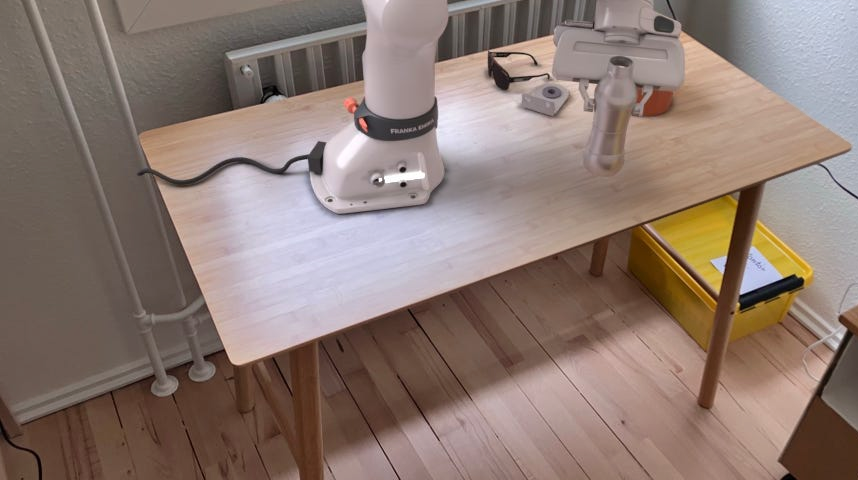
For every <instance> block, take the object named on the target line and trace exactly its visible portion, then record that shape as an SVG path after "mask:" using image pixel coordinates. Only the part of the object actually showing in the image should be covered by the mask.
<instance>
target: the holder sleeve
mask: <svg viewBox="0 0 858 480" xmlns="http://www.w3.org/2000/svg"><path fill="white" fill-rule="evenodd" d="M637 92H638V97H637V101H636V103H640V102H641V101H642V99H643V98H644V96H643V95H641V94H642V89H640V88H637ZM674 93H675V92H670V91H660V90H653V92H652V94H651V96H650V97H649V99H648V100H647V101H646V103H645V104H644V107H643V115H642V117H643V116H645V117H651V116H658V115H661V114H664V113H665V112H667V111H668V110H669V109H670V107H671V106H672V105H671V104H672V102H673V97H674ZM632 112H633V111H632Z"/></svg>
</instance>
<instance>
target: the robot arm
mask: <svg viewBox="0 0 858 480" xmlns="http://www.w3.org/2000/svg"><path fill="white" fill-rule="evenodd" d="M360 1H361V3H362V7H363V10H364V14H365V20H366V39H365V49H364V50H363V52H362V56H361V61H362V62H361V63H362V72H363V74H362V76H363V77H362V78H363V87H364V88H363V89H364V91H363V92H364V96H363V98H362V101H361V102H360V104H359V103H358V101H357V99H356V98H354V97H347V98H346V99H345V101H344V102H343V105H344V108H346V110H347V113H349V114H352V115H353V120H352V121H351V122H350V123H348V124H347V125H346V126H345V127H343V128H342V129H341V130H340V131H338V132H337V133H336V134H335V135H333V136H332V137H330V138H329V139H328V140H327V142H326V141H321V140H317V142H316V144H315V145H314V147H313V148H312V149H311V151H310V152H309V153H307V154H301V155H297V156H294V157H292V158H290V159H288V160H287V161H286V163H285V164H284V165H283V166H282V167H280V168H271V167H268V166H266V165H264V164H262V163H260V162H258V161H256V160H255V159H252V158H249V157H244V156H238V157H237V156H236V157H230V158H227V159H224V160H222V161H220V162H218V163H216V164H214V165H213V166H212V167H210V168H209V169H207V170H206V171H204V172H202V173H201V174H198V175H197V176H195V177H192V178H188V179H175V178H172V177H169V176H167V175H165V174H163V173H161V172H159V171H158V170H156V169H154V168H149V167H147V168H143V169H140V170H139V171H138V172H137V173H136V176H138V177H140V176H143V175H145V174H151V175H154V176H155V177H157V178H159V179H161V180H163V181H165V182H166V183H167V182H168V183H170V184H173V185H177V186H183V185H184V186H185V185H191V184H194V183H197V182H199V181H202V180H203V179H206V178H207V177H209V176H210V175H211V174H213V173H214V172H216V171H217V170H219V169H220V168H222V167H224V166H226V165H229V164H232V163H247V164H249V165H253V166H255V167H256V168H258V169H260V170H262V171H264V172H267V173H270V174H276V175H277V174H283V173H285V172H286V171H287V170H288V169H289V168H290V167H291V165H293V164H294V163H296V162H299V161H303V160H305V161H306V160H307V164H308V172H309V176H310V177H309V179H310V185H311V188H312V191H313V192H314V195H315V196H316V199H318V201H319V202H320V203H321V204H322V206H323V207H325V208H326V209H327V210H329V211H331V212H333V213H334V214H338V215H339V214H340V215H341V214H351V213H359V212H368V211H376V210H385V209H394V208H395V209H396V208H403V207H411V206H421V205H425V204H426V203H427V202H428V201H429V199H430V197H431V194H432V192H433V191H434V190H435V188H437V187H438V186H439V185H440V184H441V183H442V181H443V180H444V177H445V166H444V163H443V160H442V157H441V153H440V149H439V145H438V144H439V143H438V137H437V128H438V125H439V124H438V121H439V105H438V98H437V96H436V55H437V49H438V44H439V39H440V37H441V36H442V35H443V34H444V32H445V30H446V28H447V26H448V22H449V16H450V15H449V14H450V12H449V11H450V10H449V4H448V0H360ZM595 3H596V4H595V11H594V20H593V21H585V20H583V21H581V20H580V21H579V20H573V19H565V20H564V21H563V22H562V21H561V22H560V23H558V24H557V25H556V26H555V28H554V30H553V38H552V42H553V44H554V46H555V52H554V57H553V62H552V66H551V67H552V68H551V75H552V77H553V78H554V80H556V81H560V82H572V83H578V91H579V94H580V95H581V98H582V100H583V108H582V109H583V110H582V111H583V112H587V113H594V98H590V96H589V93H588V89H589V84H590V85H591V84H592V85H597V84H598V83H599V81H600V80H601V79H602V78H603V77H604V76H606V75H607V67H608V63H609V59H610V58H611V57H613V56H625V57H628V58H630V59H632V60H633V62H634V66H633V75H632V76H631V78H632V80H633V81H634V83H635V85H636V87H637V88H640V89H642V94H641V95H643V96H644V98H643V99H642V101H641V102H640V103H635V106H634V109H633V112H632V114H631V117H637V118H642V117H643V116H642V115H643V107H644V104H645V103H646V101H647V100H648V99H649V97H650V96H651V94H652V92H653V90H660V91H670V92H674V93H675V92H677V91H678V90H680V88H681V87H682V86H683V84H684V82H685V76H686V75H685V74H686V72H685V71H686V56H685V55H686V54H685V53H686V52H685V48H684V44H683V43H682V41H681V40H680V39H679V38H680V36H681V32H682V24H681V23H680V22H679V21H678V20H675V19H673V18H671V17H668V16H666V15H664V14H662V13H660V12H657V11H655V10H654V7H655V6H654V0H596V2H595Z"/></svg>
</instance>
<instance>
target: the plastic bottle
mask: <svg viewBox="0 0 858 480" xmlns="http://www.w3.org/2000/svg"><path fill="white" fill-rule="evenodd" d="M633 66H634V62H633V60H632V59H630V58H628V57H625V56H613V57H611V58H610V59H609V63H608V67H607V75H606V76H604V77H603V78H602V79H601V80H600V81H599V83H598V84H596V86H595V88H594V93H593V96H594V97H593V99H594V109H593V117H592V127H591V131H590V134H589V137H588V141H587V143H586V145H585V148H584V151H583V154H582V163H583V166H584V168H585V170H586V171H587V172H588V173H589V174H591V175H592V176H594V177H599V178H611V177H614V176H615V175H617V174H618V173H619V172H620V171H621V170H622V168H623V166H624V163H625V160H626V159H625V157H626V147H625V146H626V136H627V130H628V126H629V124H630V120H631V117H632V111H633V109H634V106H635V103H636V101H637V97H638V92H637V87H636V85H635V83H634V81H633V80H632V78H631V76H632V75H633Z"/></svg>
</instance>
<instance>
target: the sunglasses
mask: <svg viewBox="0 0 858 480" xmlns="http://www.w3.org/2000/svg"><path fill="white" fill-rule="evenodd" d="M511 55H523V56H528V57H530V58H531V60H532V61H533V64H534V65H535V66H538V61H537V59H535V57H534V56H533V55H532V54H530V53H527V52H522V51H521V52H520V51H490V50H487V74H488V77H493V80H494V83H495V85H496V87H497V88H498V89H500V90H502V91H508V90H509V88H510V85H511V84H513V83H522V82H528V81H531V79H533V78H540V77H541V78H542V77H544V76H547V80H550V78H551V75H550V73H548V72H545V73H542V74H538V75H534V74H533V75H523V76H511V75H510V73H509V72H508V71H507V70H505V68H503V66H501V64H500V63H498V62H497V60H496V58H508V57H510V56H511Z"/></svg>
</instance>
